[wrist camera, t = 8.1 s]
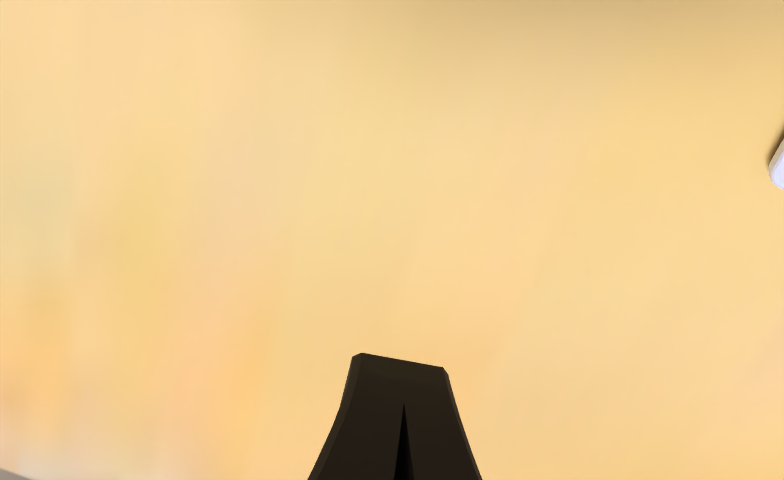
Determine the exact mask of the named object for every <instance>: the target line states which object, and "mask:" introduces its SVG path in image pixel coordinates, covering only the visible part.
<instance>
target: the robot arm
mask: <svg viewBox="0 0 784 480" xmlns="http://www.w3.org/2000/svg"><path fill="white" fill-rule="evenodd" d="M768 173H769V177H770V179H771V181H772V182H773V183H774V184H775V186H777V187H779V188H781V189H784V139H783V141H782V142H781V144H780V146H779V148H778V149H777V151H776V153H775V155H774V156H773V158H772V160H771V162H770V164H769V167H768ZM308 480H482V478H481V475H480V473H479V470H478V467H477V465H476V462H475V459H474V457H473V454H472V451H471V448H470V445H469V442H468V439H467V437H466V434H465V431H464V428H463V425H462V422H461V419H460V415H459V412H458V409H457V406H456V402H455V399H454V395H453V392H452V388H451V384H450V380H449V376H448V374H447V372H446V371H445V370H444V368H443V367H438V366H432V365H427V364H421V363H416V362H410V361H405V360H399V359H394V358H388V357H382V356H377V355H371V354H366V353H360V354H357V355H355V356H353V357H352V360H351V364H350V368H349V372H348V376H347V380H346V384H345V388H344V392H343V396H342V400H341V404H340V408H339V411H338V413H337V416H336V418H335V421H334V424H333V426H332V428H331V431H330V433H329V435H328V437H327V439H326V442H325V444H324V446H323V448H322V450H321V452H320V455H319V457H318V459H317V461H316V463H315V465H314V468H313V470H312V472H311V474H310V476H309V478H308Z"/></svg>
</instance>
